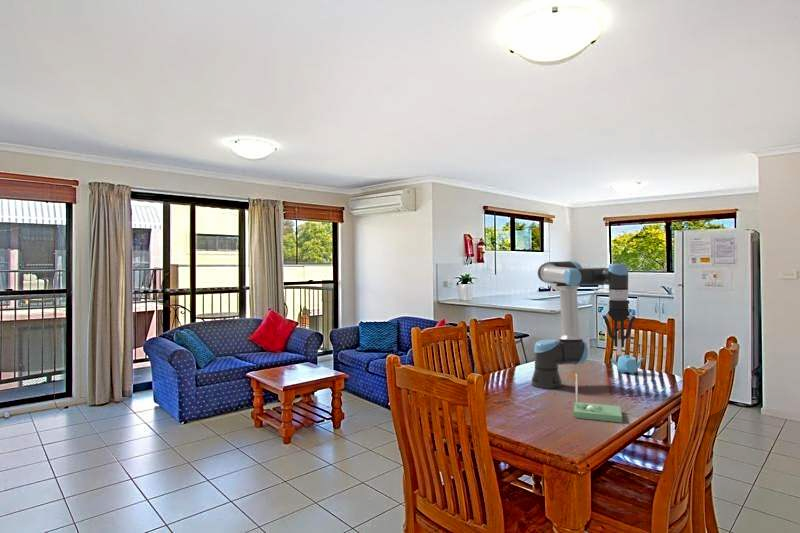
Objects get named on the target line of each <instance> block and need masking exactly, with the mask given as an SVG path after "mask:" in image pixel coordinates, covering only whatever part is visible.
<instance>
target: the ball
mask: <svg viewBox="0 0 800 533" xmlns="http://www.w3.org/2000/svg"><path fill="white" fill-rule="evenodd" d="M586 409H587V410H596V409H595V407H594V406H593V405H589V406H587V408H586Z"/></svg>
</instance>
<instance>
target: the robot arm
mask: <svg viewBox="0 0 800 533" xmlns="http://www.w3.org/2000/svg"><path fill="white" fill-rule="evenodd" d="M628 268H629V267H628V264H626V263H609V264H608V267H585V268H583V267H582V265H581V264H580V263H579V262H577V261H571V260H569V261H547V262H545V263H543V264H541V265H540V266H539V267H538V270H537V276H538V279H539V280H540V281H541V282H543V283H546V284H555V285H556V289H558V290H559V301H560V302H559V303H560V321H561V336H560V337H558V339H553V338H551V339H549V338H547V339H541V340H537V341H536V342H535V344H534V350H533V352H534V371H533V374H532V377H531V386H533V387H535V388H540V389H549V390H550V389H560V388H562V387H563V386H562V385H563V383H562V379H561V376H560V373H559V366H560V365H561V366H562V365H580V364H581V365H582V364H584V363H585V362H586V360H587V358H588V355H589V349H588V345H587V343H586V342H585V341H584V340H583V337H582V336H580V328H579V327H580V326H579V324H580V322H579V308H578V306H579V305H578V289H579V288H580V286H605V285H606V286H608V298H609V300H608V311H607V313H606V314H603V315H602V319H603V320H604V322H605V324H606V329H607V332H608V335H609V337H610V338H611V339H613V346H614V348H616V355H617V356H622V348H625V340H626V339H629V338H630V335H631V330H632V327H633V326H632V325H633V324H634V321H635V320H636V316H634V315H633V314H632V313H631V312H630V310H629V300H628V299H629V269H628ZM609 318H611V319H612V321H613V332H612V329H611V324H610V322H609ZM627 318H628V319H629V321H628V324H627V328H626V332H625V321H626V320H627ZM618 322H619V323H620V338H618Z"/></svg>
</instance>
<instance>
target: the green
mask: <svg viewBox="0 0 800 533" xmlns="http://www.w3.org/2000/svg"><path fill="white" fill-rule="evenodd" d="M567 379H573V380H575V402H574V408H573V418H574V419H586V420H594V421H604V422H612V423H613V422H614V423H623V414H622V410H621V406H620V405H611V404H599V403H589V402H579V398H578V397H579V396H578V395H579V394H578V393H579V391H578V390H579V389H578V386H579V385H578V384H579V383H578V374H577V373H569V372H568V373H567ZM589 405H593V406H594V407H595V409H596V410H587V409H586V408H587V406H589Z"/></svg>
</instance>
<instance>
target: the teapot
mask: <svg viewBox="0 0 800 533" xmlns="http://www.w3.org/2000/svg"><path fill="white" fill-rule="evenodd" d="M644 359H645V358H644V357H641V358H639V360H638V363H637V359H636V357H635V356H630V355H628V354H625V355H624V356H623V355H618V359H617V361H616V360H615V359H614V358H611V359H610V362H611V363H613V365H616V367H617V371H618V372H620V374H623V375H625V373H629V375H634V374H636V373H637V371H638V369H639V368H640V367H641V365H642V361H643V360H644Z"/></svg>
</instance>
